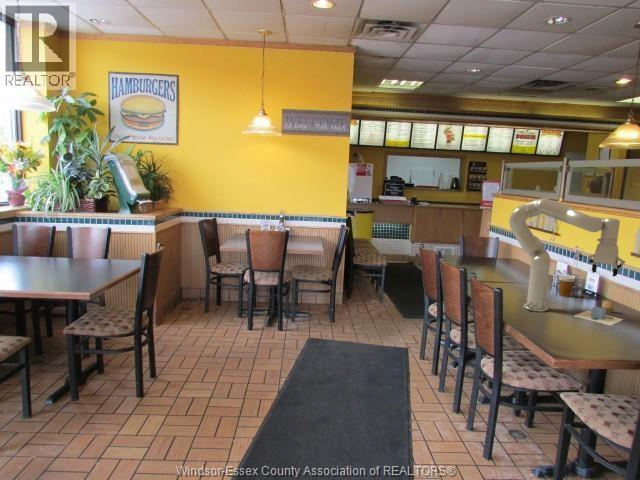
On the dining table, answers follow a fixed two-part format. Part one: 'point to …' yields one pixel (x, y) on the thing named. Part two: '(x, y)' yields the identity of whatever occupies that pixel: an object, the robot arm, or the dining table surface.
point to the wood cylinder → (608, 306)
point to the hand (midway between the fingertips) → (604, 274)
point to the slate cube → (598, 313)
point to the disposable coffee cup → (566, 285)
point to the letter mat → (607, 320)
